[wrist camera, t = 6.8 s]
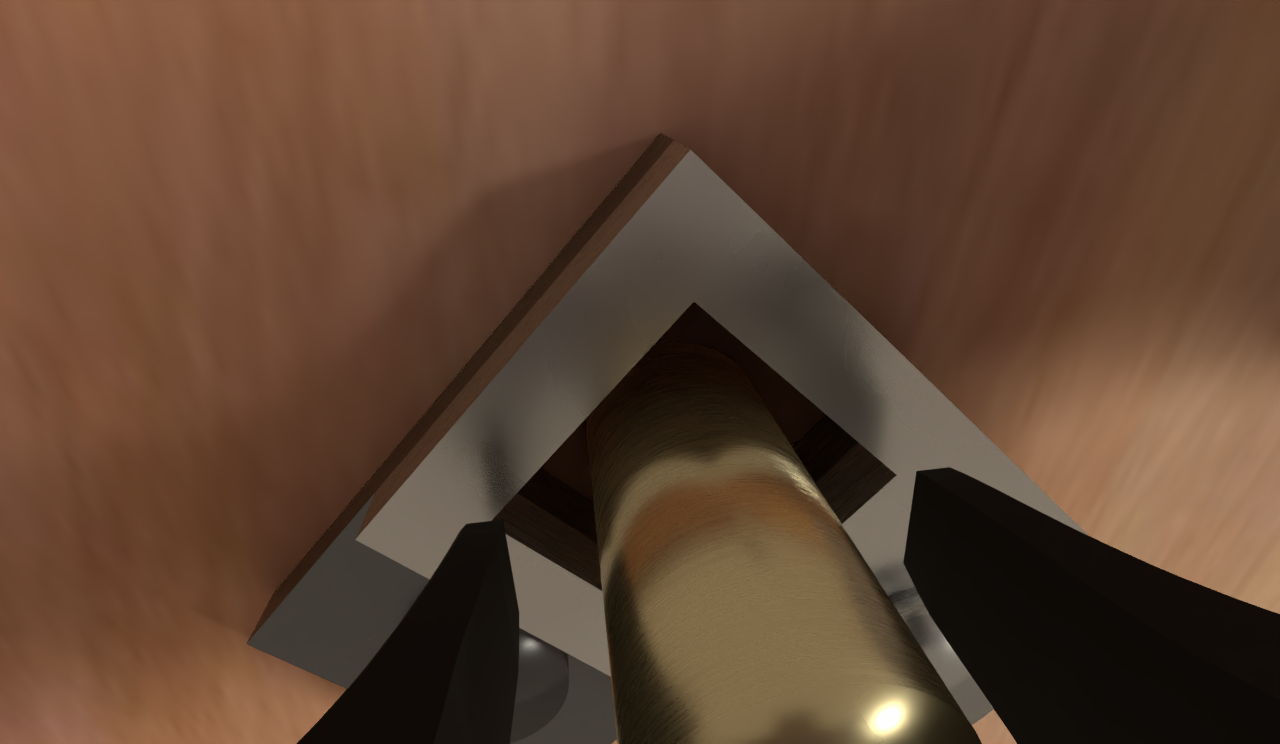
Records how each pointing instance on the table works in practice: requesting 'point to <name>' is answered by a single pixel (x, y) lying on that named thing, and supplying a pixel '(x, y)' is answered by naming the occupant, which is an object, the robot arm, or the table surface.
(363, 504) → the black base board
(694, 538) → the brass pin
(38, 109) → the table surface
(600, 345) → the grey square hole plate
